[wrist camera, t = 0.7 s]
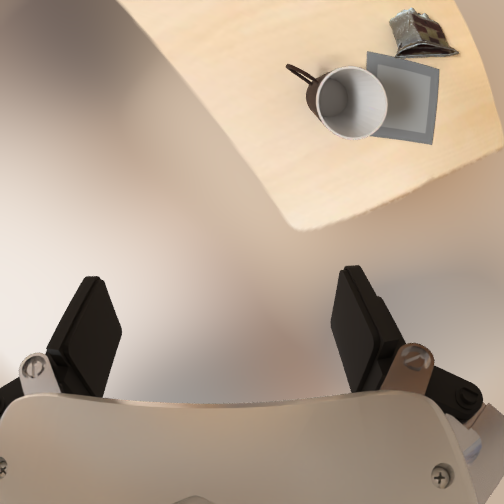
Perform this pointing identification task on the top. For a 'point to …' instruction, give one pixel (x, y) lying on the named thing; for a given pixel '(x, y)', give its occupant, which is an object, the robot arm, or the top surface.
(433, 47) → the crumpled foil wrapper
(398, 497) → the robot arm
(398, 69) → the mat
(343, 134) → the coffee mug
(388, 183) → the top surface
